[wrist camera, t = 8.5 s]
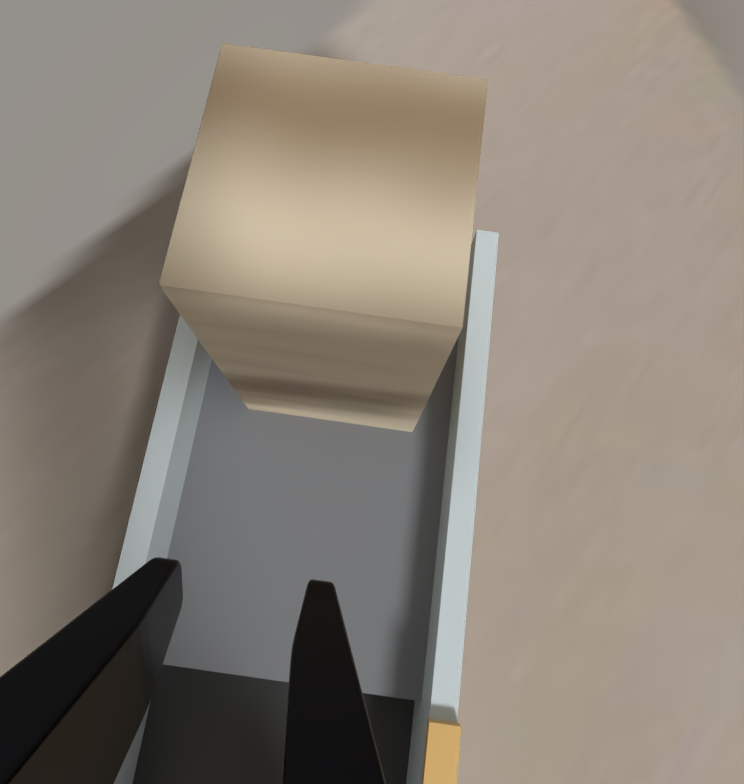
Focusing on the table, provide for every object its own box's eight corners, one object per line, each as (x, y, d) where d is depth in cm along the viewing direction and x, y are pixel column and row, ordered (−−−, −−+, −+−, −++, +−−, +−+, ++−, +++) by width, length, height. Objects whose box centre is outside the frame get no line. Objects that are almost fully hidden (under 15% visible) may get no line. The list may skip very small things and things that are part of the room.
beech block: (412, 432, 21) (462, 327, 11) (248, 408, 21) (158, 285, 11) (430, 282, 22) (488, 79, 13) (278, 261, 23) (222, 43, 13)
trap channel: (412, 967, 18) (430, 1092, 14) (78, 918, 18) (-5, 1028, 14) (477, 282, 25) (503, 226, 21) (230, 249, 25) (205, 186, 21)
